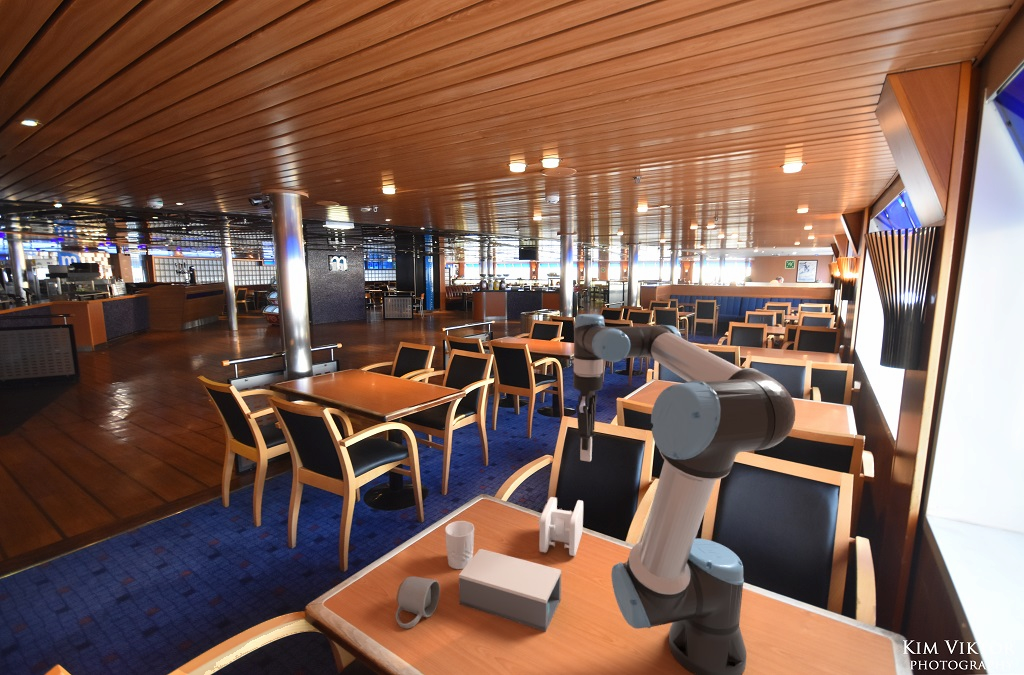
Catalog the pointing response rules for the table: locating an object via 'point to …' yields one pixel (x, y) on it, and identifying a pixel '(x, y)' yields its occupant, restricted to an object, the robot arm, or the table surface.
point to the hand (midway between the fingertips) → (585, 459)
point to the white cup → (459, 543)
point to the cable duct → (510, 604)
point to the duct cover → (511, 575)
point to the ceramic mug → (417, 598)
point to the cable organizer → (560, 526)
